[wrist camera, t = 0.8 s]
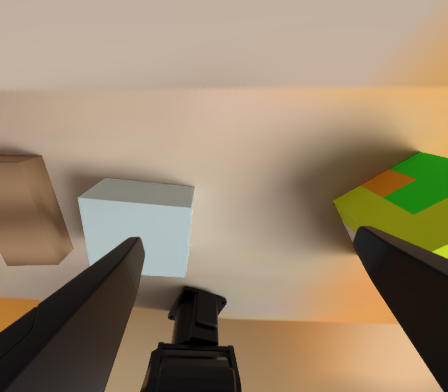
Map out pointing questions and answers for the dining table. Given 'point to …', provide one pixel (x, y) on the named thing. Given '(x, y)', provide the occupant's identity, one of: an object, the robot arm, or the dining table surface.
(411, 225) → the puzzle toy
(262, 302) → the dining table surface
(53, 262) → the board
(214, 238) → the dining table surface
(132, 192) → the block
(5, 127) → the dining table surface
